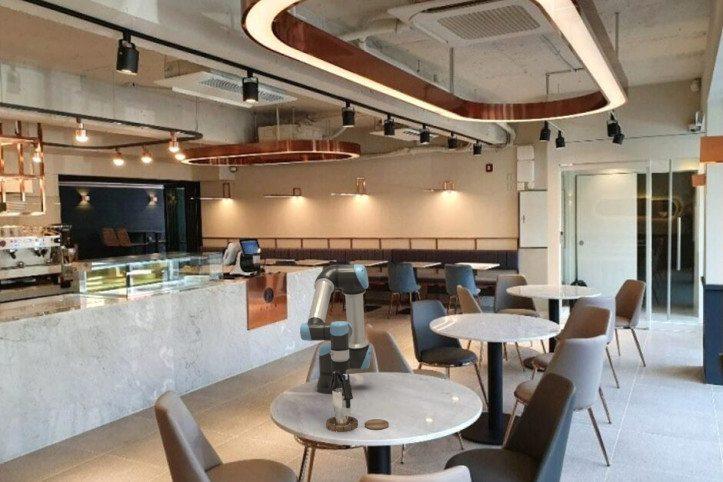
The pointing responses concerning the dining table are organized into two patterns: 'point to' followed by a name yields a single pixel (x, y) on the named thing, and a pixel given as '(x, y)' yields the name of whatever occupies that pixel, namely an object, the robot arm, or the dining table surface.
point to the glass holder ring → (342, 428)
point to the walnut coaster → (376, 424)
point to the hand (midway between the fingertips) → (341, 410)
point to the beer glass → (339, 408)
